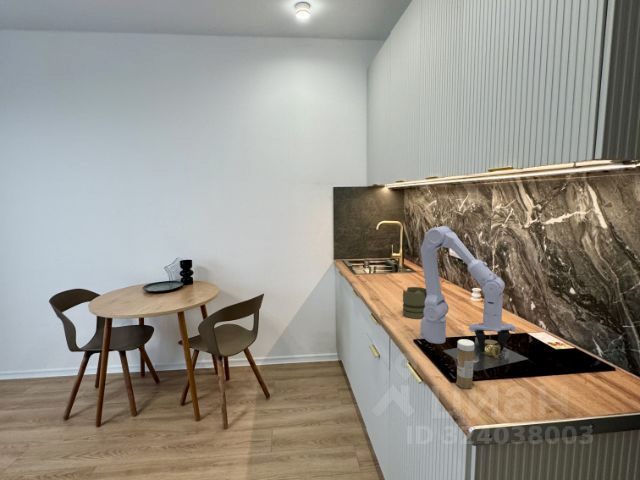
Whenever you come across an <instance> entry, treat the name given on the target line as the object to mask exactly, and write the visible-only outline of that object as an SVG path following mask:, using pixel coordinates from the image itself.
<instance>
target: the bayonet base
mask: <svg viewBox="0 0 640 480" xmlns="http://www.w3.org/2000/svg"><path fill="white" fill-rule="evenodd" d="M442 352H444V353H445V354H447V355H449V356H451V357H452V358H453V359H455V360H457V361H458V347H455V348H450V349H444V350H442ZM497 354H499V358H494V357H493V356H489V355H486V354H484V353H483V352H481V350H480V347H479V342H478V339H477V337H474V351H473V371H476V372H479V371H483V370H488V369H490V368H495V367H500V366H504V365H507V364H512V363H517V362H520V361H525V360H529V358H528V357H526V356H524V355H521V354H520V353H517V352H515V351H513V350H511V349H508V348H507V347H505V346H504V348H503V350H502V351H500V352H498V353H497Z"/></svg>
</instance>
